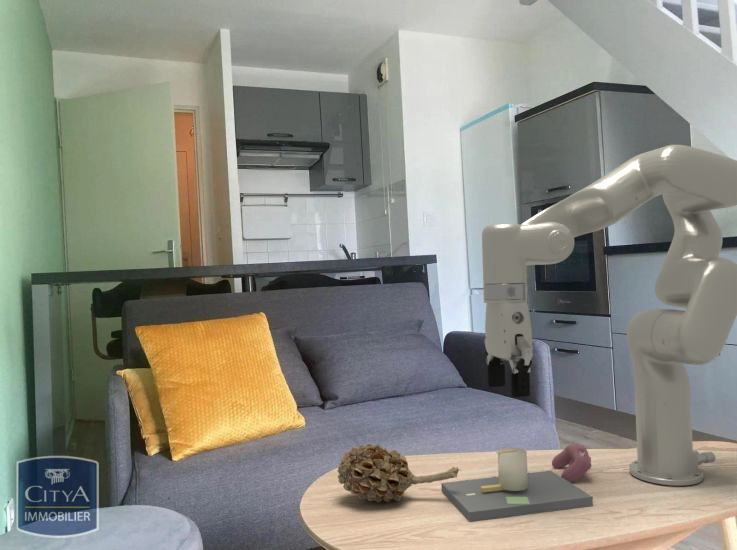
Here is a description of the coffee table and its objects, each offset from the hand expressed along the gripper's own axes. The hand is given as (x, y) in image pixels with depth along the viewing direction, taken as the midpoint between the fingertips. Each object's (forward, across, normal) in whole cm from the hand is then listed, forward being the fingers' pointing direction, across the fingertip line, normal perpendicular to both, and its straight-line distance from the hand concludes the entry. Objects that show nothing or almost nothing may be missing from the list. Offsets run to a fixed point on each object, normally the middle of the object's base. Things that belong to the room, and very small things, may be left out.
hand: (507, 391), depth 103 cm
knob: (+17, 0, +1) cm, 17 cm away
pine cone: (+19, +5, +19) cm, 28 cm away
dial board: (+19, 0, -1) cm, 19 cm away
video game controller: (+19, +8, -16) cm, 26 cm away
